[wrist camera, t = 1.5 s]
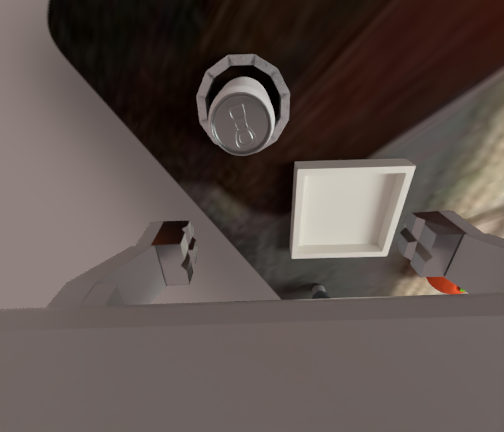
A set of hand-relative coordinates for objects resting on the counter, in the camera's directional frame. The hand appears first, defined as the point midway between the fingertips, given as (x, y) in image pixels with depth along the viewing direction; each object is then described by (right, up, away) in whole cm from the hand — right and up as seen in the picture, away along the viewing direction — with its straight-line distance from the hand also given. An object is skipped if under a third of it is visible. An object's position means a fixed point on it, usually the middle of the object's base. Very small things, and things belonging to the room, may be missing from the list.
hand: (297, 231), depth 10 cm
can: (-3, +15, +24) cm, 28 cm away
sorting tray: (+13, +2, +32) cm, 34 cm away
